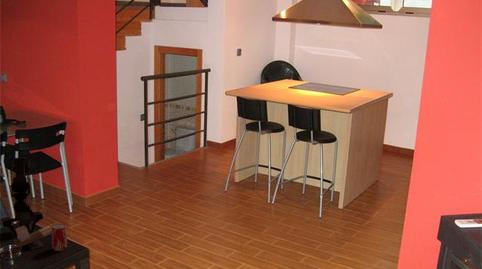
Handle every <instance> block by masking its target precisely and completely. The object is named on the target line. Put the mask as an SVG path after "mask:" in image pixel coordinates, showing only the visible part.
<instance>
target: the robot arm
mask: <svg viewBox="0 0 482 269" xmlns="http://www.w3.org/2000/svg"><path fill="white" fill-rule="evenodd" d="M30 166H31V164H30V158H28V157H26V156H25V157H24V156H23V157H14V158H13V159H11V167H13V170H14V172H15V177H13V178H12V182H11V183H10V184H11V185H10V187H11V190H10V192H11V198H14V201H13V209H14V217H13V218H10V216H6V217H2V218H0V225H1V226H2V227H3V228H7V229H9V230H10V233H11V234H12V237H13V238H15V237H16V234H15V233H16V232H15V225H14V224H13V223H18V224H17V226H18V227H17V228H19V227H21V226H25V227H26V228H27V229H28V233H29V232H30V234H32V233H33V232H34V229H35V226H36V224H37V223H38V222H40V221H41V220H43V219H44V215H43V213H42V212H41V211H39V210H38V211H37V210H35V211H33V209H31V205H30V203H29V202H28V197H29V196H30V194H31V184H30V182H29V181H28V179H27V176H26V174H27V172H28V170H29V167H30Z"/></svg>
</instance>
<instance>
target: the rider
mask: <svg viewBox="0 0 482 269" xmlns="http://www.w3.org/2000/svg"><path fill="white" fill-rule="evenodd" d="M14 231H15V233H16V237H17V239H18V240H19V241H20V242H21V243H22V242H24V241H26V240H29V239H30V236H29V234H30V233H29V232H28V229H27V228H26V227H25V226H21V227H19V228H18V227H17V228H14Z"/></svg>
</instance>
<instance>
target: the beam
mask: <svg viewBox="0 0 482 269" xmlns="http://www.w3.org/2000/svg"><path fill="white" fill-rule="evenodd" d="M52 228H53V227H51V226H50V225H48V226H46V227H43V228H41V229H38V230H35V231H33V232H32V234H31V233H29V236H30V239H29V240H26V241H24V242H22V243H21V242H20V241H19V240H18V238H17V239H15V240H13V243H14V244H15V245H16V247H17V248H21V247H23V246H25V245H27V244H28V243H30V242H33V241H35V240H40V239H42V238H44V237H46V236H48V235H52Z"/></svg>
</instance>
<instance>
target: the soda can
mask: <svg viewBox="0 0 482 269" xmlns="http://www.w3.org/2000/svg"><path fill="white" fill-rule="evenodd" d="M51 228H52V233H51V246H52V250H53V251H55V252H57V251H58V252H62V251H64V250H65V249H67V248H68V233H67V227H66V224H63V223H57V224H54V225H53V226H52V227H51Z"/></svg>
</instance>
